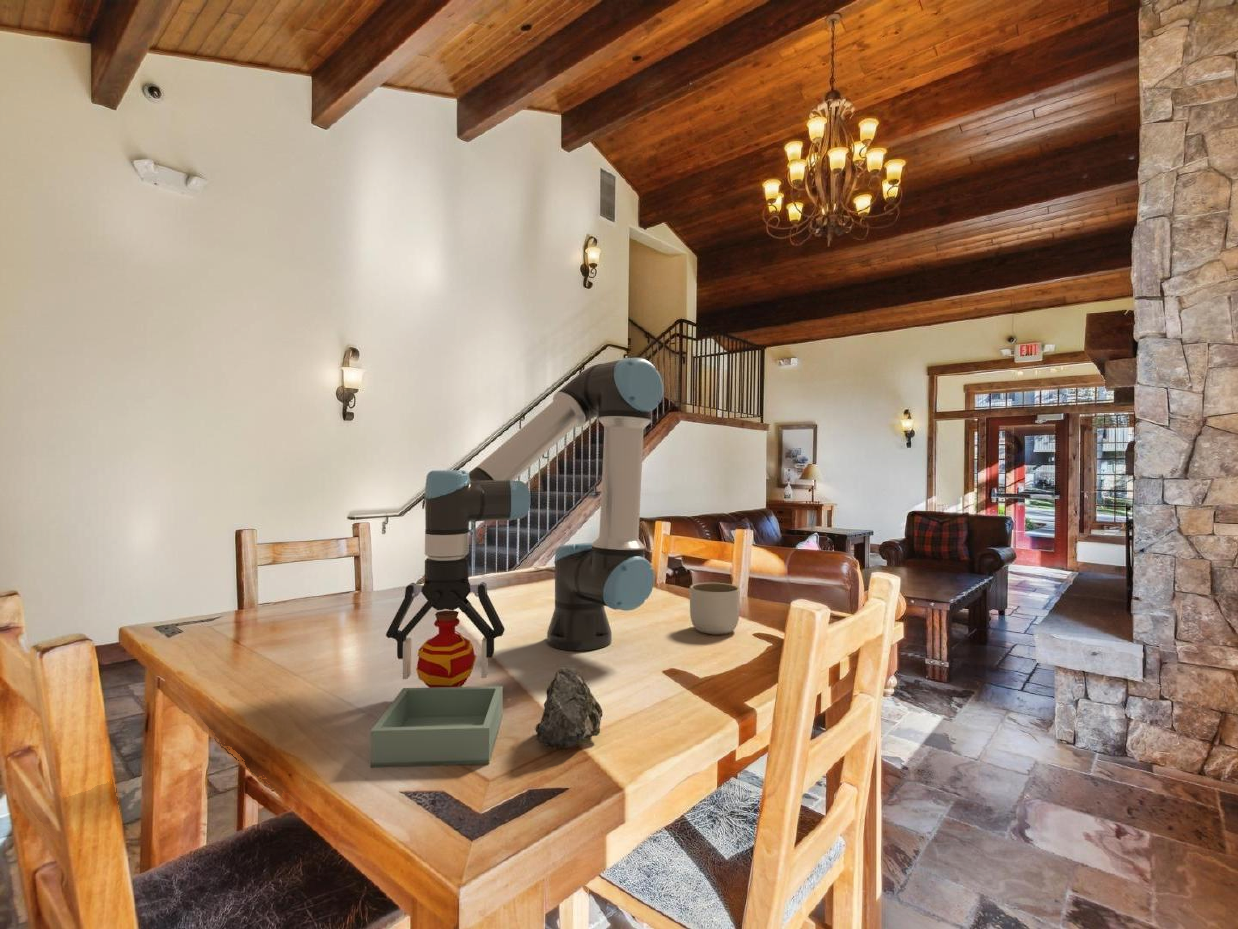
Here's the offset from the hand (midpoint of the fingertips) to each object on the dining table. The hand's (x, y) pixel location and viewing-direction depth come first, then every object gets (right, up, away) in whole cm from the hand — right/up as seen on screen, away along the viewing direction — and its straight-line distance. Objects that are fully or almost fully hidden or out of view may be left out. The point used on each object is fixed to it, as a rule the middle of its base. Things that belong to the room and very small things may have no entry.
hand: (446, 676), depth 109 cm
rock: (+23, -4, -17) cm, 29 cm away
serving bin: (+4, -4, -17) cm, 18 cm away
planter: (+55, -4, +45) cm, 71 cm away
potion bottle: (0, -4, 0) cm, 4 cm away
